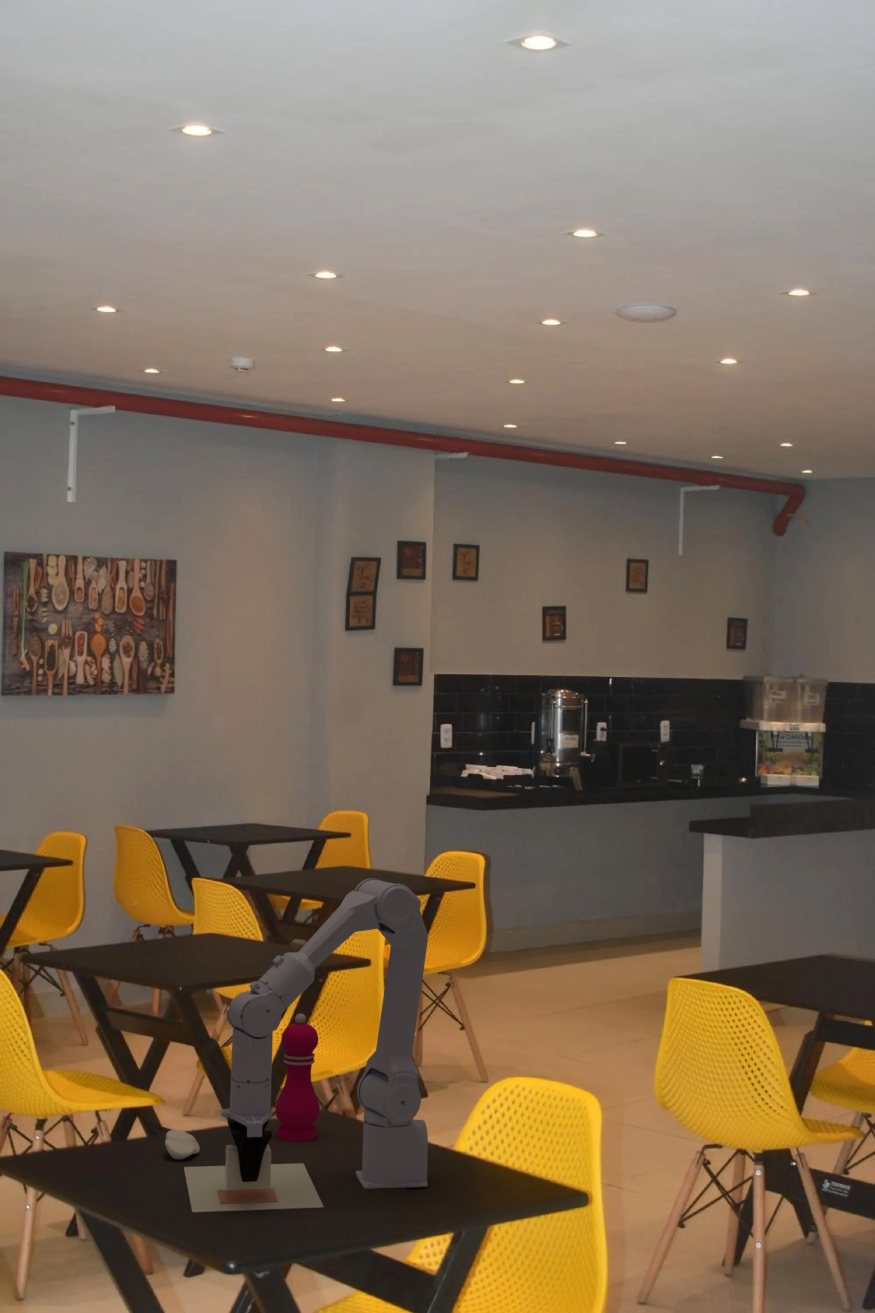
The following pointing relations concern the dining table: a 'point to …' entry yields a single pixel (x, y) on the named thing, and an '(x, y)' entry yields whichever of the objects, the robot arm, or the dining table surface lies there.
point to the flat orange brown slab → (247, 1196)
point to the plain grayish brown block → (233, 1170)
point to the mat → (285, 1179)
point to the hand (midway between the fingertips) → (247, 1176)
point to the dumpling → (181, 1144)
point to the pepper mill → (298, 1084)
